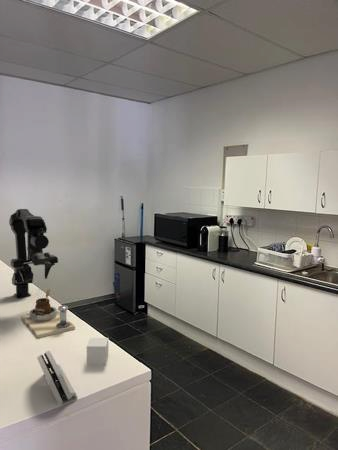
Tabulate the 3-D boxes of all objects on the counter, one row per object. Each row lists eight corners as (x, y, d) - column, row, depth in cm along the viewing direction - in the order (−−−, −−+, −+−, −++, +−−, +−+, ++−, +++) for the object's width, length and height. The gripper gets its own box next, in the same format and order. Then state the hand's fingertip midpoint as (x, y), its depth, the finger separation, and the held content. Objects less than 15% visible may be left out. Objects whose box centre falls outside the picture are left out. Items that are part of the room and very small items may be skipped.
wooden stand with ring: (21, 318, 138) (21, 298, 137) (55, 311, 147) (55, 292, 146) (37, 338, 121) (37, 315, 120) (74, 329, 130) (74, 307, 129)
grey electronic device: (78, 399, 88) (64, 368, 85) (61, 410, 85) (46, 379, 82) (61, 369, 102) (49, 341, 99) (46, 378, 99) (33, 350, 97)
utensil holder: (43, 312, 142) (42, 285, 141) (54, 315, 139) (54, 287, 138) (31, 317, 137) (31, 288, 136) (43, 320, 134) (43, 291, 133)
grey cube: (90, 355, 110) (90, 337, 110) (108, 355, 111) (108, 337, 110) (86, 364, 105) (86, 346, 104) (106, 364, 105) (106, 346, 104)
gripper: (16, 250, 135) (17, 288, 136) (62, 246, 146) (62, 281, 148) (9, 246, 143) (10, 281, 145) (53, 242, 155) (53, 275, 156)
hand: (35, 280), depth 148 cm, fingers open, 9 cm apart
